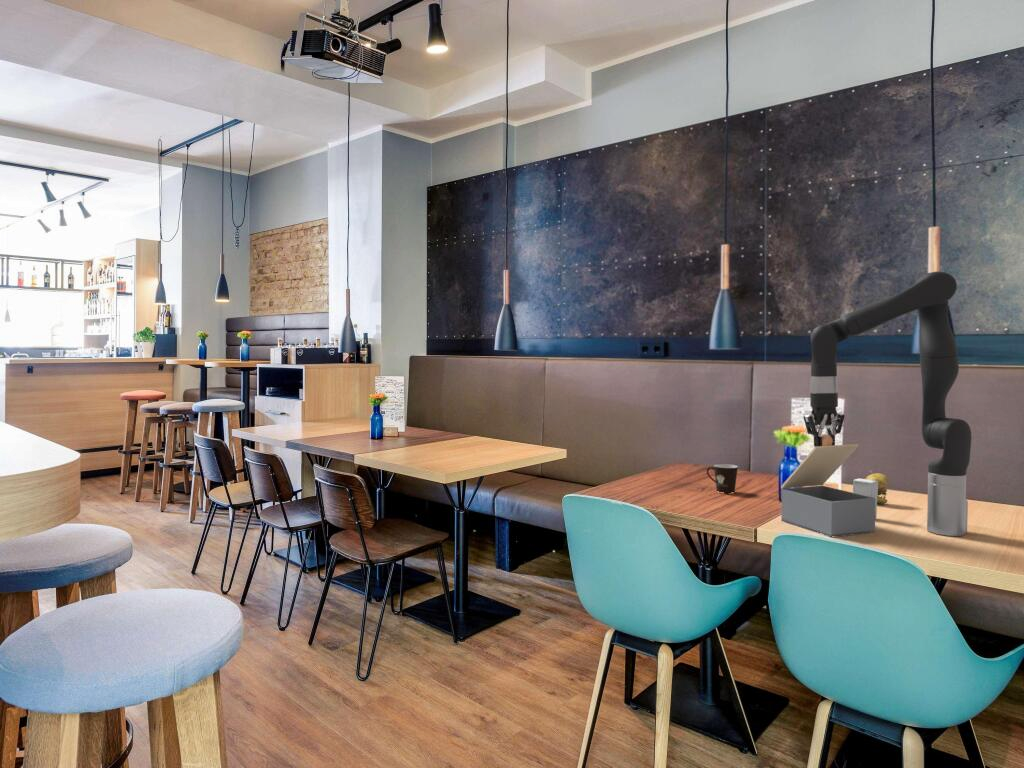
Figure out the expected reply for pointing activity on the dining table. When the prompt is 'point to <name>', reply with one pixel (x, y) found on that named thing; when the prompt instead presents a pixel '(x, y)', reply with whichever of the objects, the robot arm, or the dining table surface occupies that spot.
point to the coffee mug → (724, 477)
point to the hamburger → (879, 485)
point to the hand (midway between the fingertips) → (824, 448)
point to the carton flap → (819, 464)
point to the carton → (828, 510)
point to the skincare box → (866, 489)
